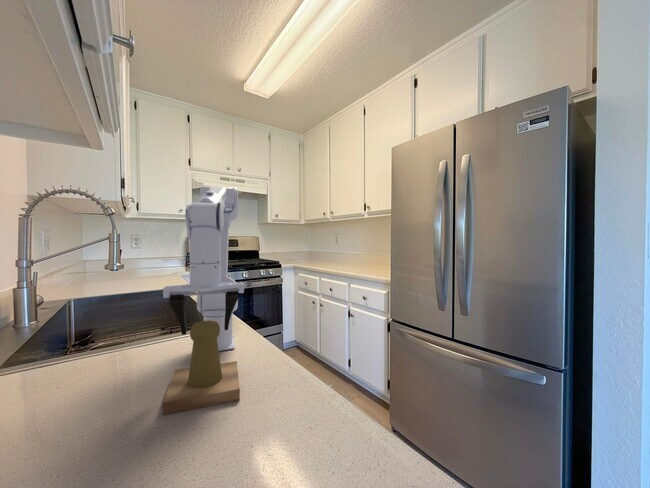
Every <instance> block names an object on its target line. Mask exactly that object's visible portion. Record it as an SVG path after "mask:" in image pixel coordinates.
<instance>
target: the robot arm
mask: <svg viewBox="0 0 650 488" xmlns="http://www.w3.org/2000/svg"><path fill="white" fill-rule="evenodd" d="M238 215H239V189H238V188H237V186H232V187H231V186H211V185H210V186H209V185H207V186H206V185H202V186H200V190H199V198H198V200H197V201H196V202H193V201H192V202H191V203H190V205H189V204H187V205H186V207H185V213H184V219H185V220H184V221H185V226H186V236H187V237H186V238H187V240H189V283H188V284H178V285H166V286H164V287H163V288H162V297H163V299H168V298H169V301H168V303H169V306H170V307H171V309H172V311H173V313H174V314H175V316H176V319H177V321H178V324H179V328H180V331H181V335H182V336H185V335H187V332H188V322H187V321H188V319H187V300H188V299H187V297H189V296H191V297H192V296H193V297H194V296H196V309H197V311H198V312H199V314H201V316H203V321H207V320H211V321H216V322H217V323H218V324H219V326H220V333H219V336H218V337H217V343H218V350H219V352H220V351H228V350H235V347H236V346H235V339H234V338H235V337H234V335H233V334H234V333H233V332H234V331H233V326H234V325H233V322H234V321H233V319H234V318H233V316H234V315H233V314H234V313H233V312H235V311H236V310H237V309H238V304H239V294H244V293H245V285H244V284H245V283H244V282H241V281H240V282H236V280H234V279H233V278H231V277H230V276H228V269H229V268H228V266H229V234H230V233H229V230H230V226H231V222H232V221H235V220H236V219H237V218H238Z"/></svg>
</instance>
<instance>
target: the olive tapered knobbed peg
mask: <svg viewBox="0 0 650 488" xmlns="http://www.w3.org/2000/svg"><path fill="white" fill-rule="evenodd" d="M219 333H220V326H219V324H218V323H217V322H216V321H211V320H207V321H204V320H202V321H197V322H195V323H194V324H192V326H191V327H190V330H189V337H190V340H192V349H191V357H190V365H189V368H190V370H189V378H188V385H189V386H190V387H192V388H205V387H210V386H213V385H215V384H217V383H218V382H220V381H221V379H222V370H221V358H220V351H219V350H218V343H217V337H218V336H219Z"/></svg>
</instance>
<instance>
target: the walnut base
mask: <svg viewBox="0 0 650 488" xmlns="http://www.w3.org/2000/svg"><path fill="white" fill-rule="evenodd" d="M220 363H221V362H220ZM189 370H190V367H188V368H186V367H185V368H179V369H175V370H174V371H173V375H172V376H171V380H170V382H169V385H168V387H167V390H166V392H165V395H164V398H163V400H162V416H164V415H169V414H175V413H179V412H180V413H181V412H186V411H191V410H195V409H201V408H206V407H211V406H216V405H221V404H226V403H231V402H237V401H240V400H241V397H240V396H241V395H240V394H241V392H240V391H241V387H240V380H239V371H238V370H239V369H238V361H236V360H235V361H228V362H222V363H221V370H222V379H221V381H220V382H218V383H217V384H215V385H213V386H210V387H205V388H192V387H190V386H189V385H188V378H189Z"/></svg>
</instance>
